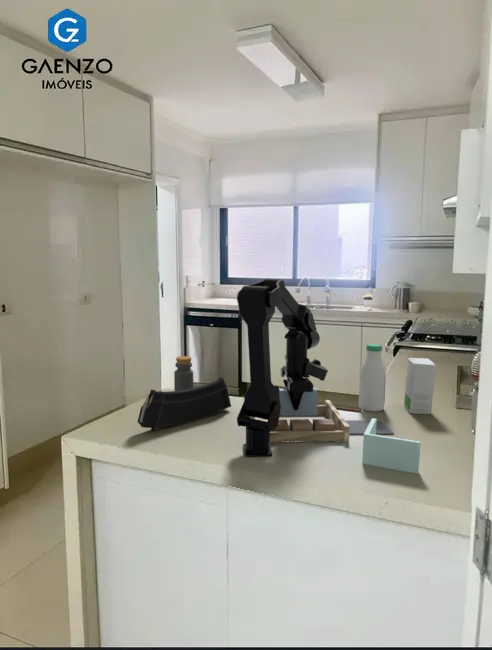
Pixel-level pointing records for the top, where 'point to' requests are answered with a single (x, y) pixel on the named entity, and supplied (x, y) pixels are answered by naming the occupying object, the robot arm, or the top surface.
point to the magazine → (183, 405)
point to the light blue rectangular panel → (306, 404)
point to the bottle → (183, 374)
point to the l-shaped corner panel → (390, 451)
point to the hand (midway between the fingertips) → (295, 408)
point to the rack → (336, 435)
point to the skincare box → (419, 385)
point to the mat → (361, 425)
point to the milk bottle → (372, 380)
